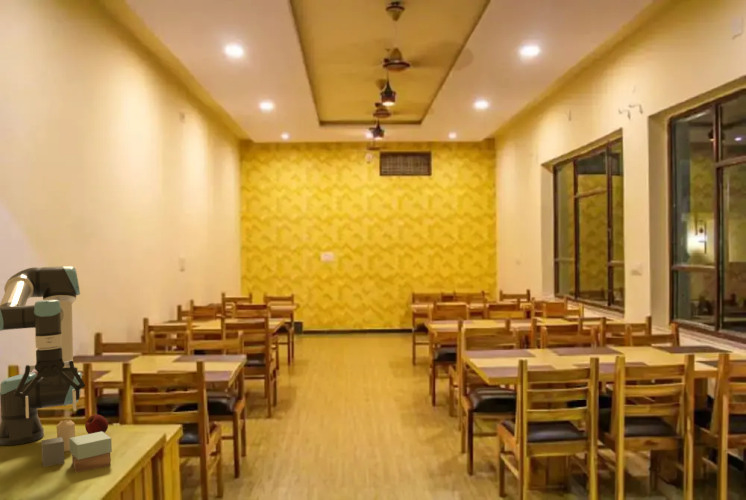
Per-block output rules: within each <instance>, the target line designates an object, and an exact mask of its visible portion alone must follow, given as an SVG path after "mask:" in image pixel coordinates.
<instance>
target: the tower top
mask: <svg viewBox="0 0 746 500" xmlns="http://www.w3.org/2000/svg"><path fill="white" fill-rule="evenodd" d="M69 444H70V451H69V453H70V454H71V456H72V455H73V456H74V457H75V458H76V459H77V460H79V459H84V458H88V457H93V456H97V455H102V454H106V453H110V454H111V453H112V452H113V449H112V437H110V436H109V435H108V434H106V432H105V433H104V432H102V431H101V432H97V433H92V434H88V433H87V434H83V435H78V436H75V437H72V438H69Z"/></svg>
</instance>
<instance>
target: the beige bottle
mask: <svg viewBox="0 0 746 500" xmlns="http://www.w3.org/2000/svg"><path fill="white" fill-rule="evenodd" d="M75 428H76V426H75V422H74V421H72V420H71V419H70V418H69V419H64V420H60V421H59V423H58V424H57V425H56V438H58V437H62V438H63V441H64V453H65V452H70V444H69V438H72V437H76V431H75V430H76V429H75Z"/></svg>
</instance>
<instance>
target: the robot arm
mask: <svg viewBox="0 0 746 500" xmlns="http://www.w3.org/2000/svg"><path fill="white" fill-rule="evenodd" d="M3 291H4V295H3V297H2V299H1V301H0V332H1V331H8V330H9V331H10V330H22V329H35V330H34V331H35V334H34V336H35V338H34V339H35V349H36V350H35V359H36V362H35V365H34V364H33V365H29V364H26V365H25V367H24V373H21V374H17V375H14V376H11V377H10V376H9V377H8V378H5V379H3V380H2V381H1V382H0V446H16V445H22V444H27V443H32V442H35V441H38V440H40V439H43V437H44V435H45V434H44V433H45V432H44V427H43V425H42V423H41V420H40V417H39V415H38V413H39V412H38V409H45V408H51V407H53V408H54V407H55V408H56V407H61V406H64V407H65V406H68V405H69V406H70V405H72V410H73V412H76V411H77V403H78V402H79V400H80V399H81V398H80V396H81V390H82V389H83V388H85V387H86V384H85V382H84V381H83V379H82V378H83V377H82V376H83V373H82V372H80V371H78V367H77V366H76V365H75V364H74V348H73V347H74V344H73V340H74V339H73V338H74V337H73V336H74V335H73V304H74V303H75V301H77V296H80V294H81V291H80V284H79V279H78V273H77V270H76V268H75V267H74V266H69V265H67V266H65V265H61V266H43V267H42V266H41V267H40V266H39V267H29V268H26V269H23V270H21V271H18V272H16V273H15V274H13V275H12V276H11V277H10V278H9V279H7V281H6V283H5V284H4V290H3ZM30 298H42V300H37V301H35V303H34V304H33V305H27V302H28V299H30ZM33 370H35V371H36V372H37V373H35V372H33Z"/></svg>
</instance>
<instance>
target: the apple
mask: <svg viewBox="0 0 746 500" xmlns="http://www.w3.org/2000/svg"><path fill="white" fill-rule="evenodd" d="M84 427H85V431H86V432H87V434H92V433H97V432H101V431H102V432H104V433H105V434H106V432H107V431H108V428H109V421H108V420H107V419H106V417H104V416H103V415H101V414H92V415H90V416H89V417H88V418H87V420H86V422H85V425H84Z"/></svg>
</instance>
